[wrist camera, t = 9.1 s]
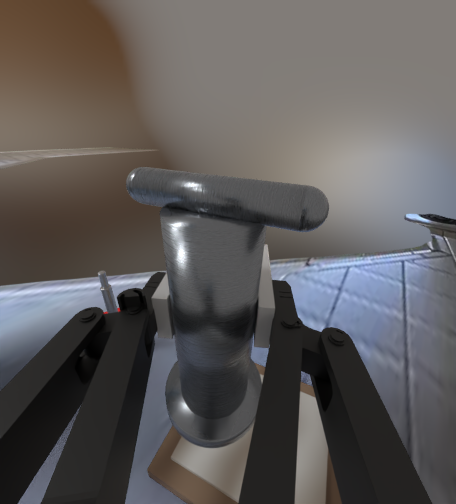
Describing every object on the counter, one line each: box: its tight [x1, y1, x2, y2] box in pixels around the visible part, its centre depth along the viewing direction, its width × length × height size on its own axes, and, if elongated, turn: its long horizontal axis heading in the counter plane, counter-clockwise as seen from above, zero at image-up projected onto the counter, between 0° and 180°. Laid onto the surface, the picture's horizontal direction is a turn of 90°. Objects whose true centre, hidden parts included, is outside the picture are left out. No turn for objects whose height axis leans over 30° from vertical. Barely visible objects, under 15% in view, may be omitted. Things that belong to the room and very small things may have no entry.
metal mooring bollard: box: [126, 167, 329, 448], centre depth 12 cm, size 9×6×14 cm
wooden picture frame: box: [147, 363, 342, 504], centre depth 23 cm, size 16×14×2 cm
